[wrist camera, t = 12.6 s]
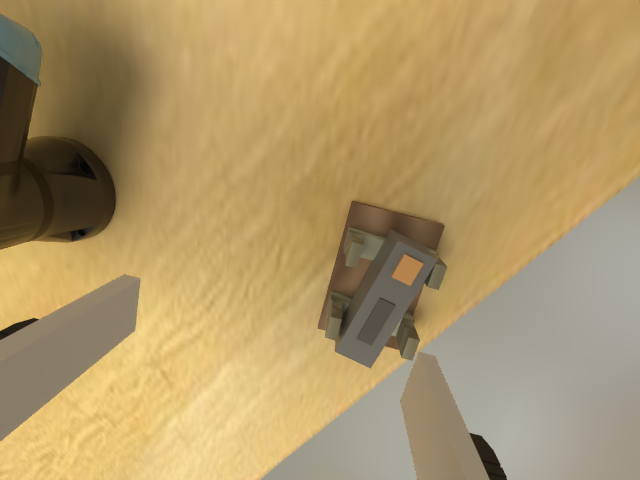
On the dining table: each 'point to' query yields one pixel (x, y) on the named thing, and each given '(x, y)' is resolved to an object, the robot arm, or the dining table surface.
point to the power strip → (383, 297)
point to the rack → (357, 256)
